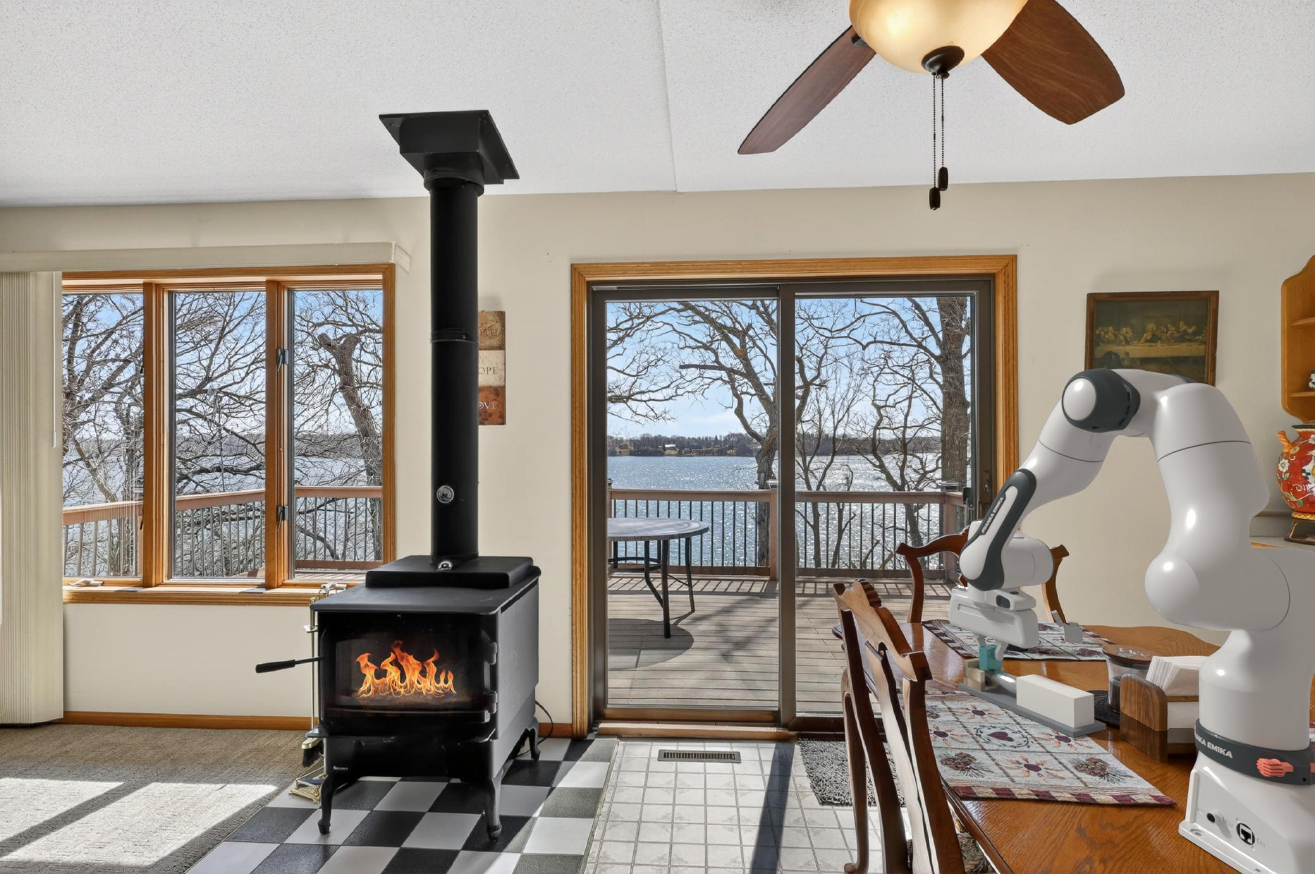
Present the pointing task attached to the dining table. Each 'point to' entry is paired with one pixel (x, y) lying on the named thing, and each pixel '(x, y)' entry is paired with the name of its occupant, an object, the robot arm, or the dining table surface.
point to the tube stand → (1046, 704)
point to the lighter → (1069, 629)
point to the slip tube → (995, 670)
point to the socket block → (976, 675)
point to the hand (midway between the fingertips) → (990, 657)
